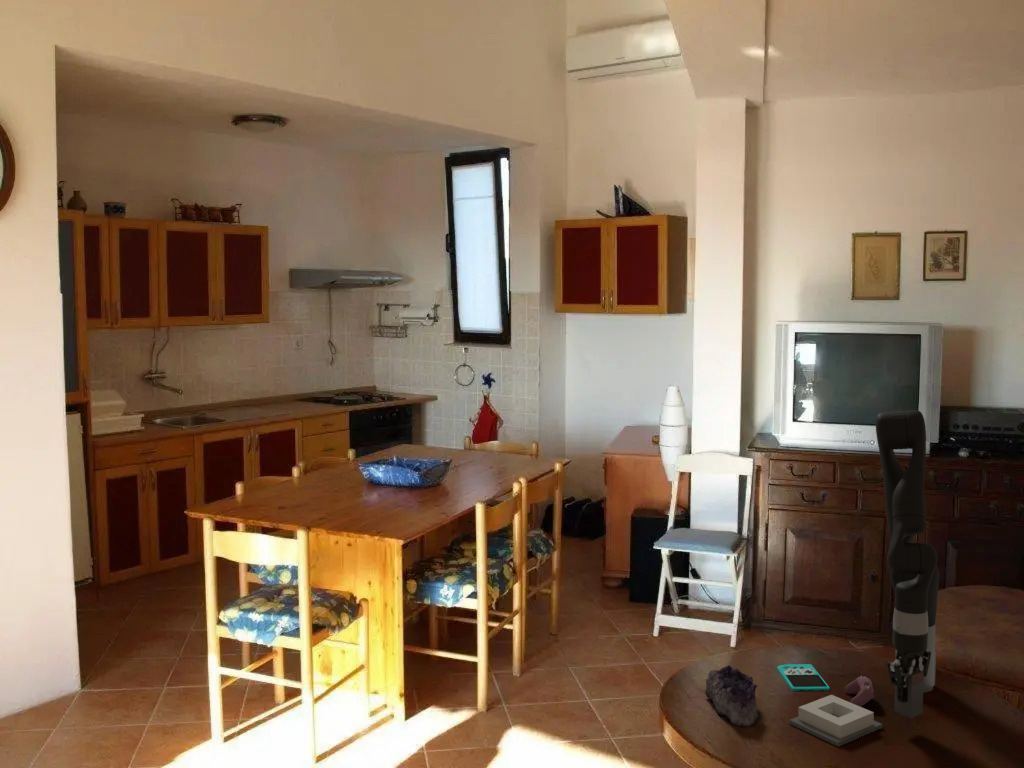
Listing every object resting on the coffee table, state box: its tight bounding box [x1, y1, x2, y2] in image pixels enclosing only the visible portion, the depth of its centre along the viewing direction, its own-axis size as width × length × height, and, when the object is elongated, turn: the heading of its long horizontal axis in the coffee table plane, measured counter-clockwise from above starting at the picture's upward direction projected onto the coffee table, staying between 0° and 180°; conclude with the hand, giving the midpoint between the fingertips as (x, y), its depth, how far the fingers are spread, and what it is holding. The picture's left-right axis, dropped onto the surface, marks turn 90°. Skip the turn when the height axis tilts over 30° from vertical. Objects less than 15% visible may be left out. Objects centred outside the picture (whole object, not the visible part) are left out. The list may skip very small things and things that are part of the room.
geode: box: [704, 664, 759, 729], centre depth 240 cm, size 20×12×10 cm, turn 6°
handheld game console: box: [776, 663, 831, 692], centre depth 259 cm, size 10×16×1 cm, turn 0°
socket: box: [788, 694, 883, 747], centre depth 231 cm, size 16×14×4 cm
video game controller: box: [844, 674, 875, 707], centre depth 244 cm, size 10×5×7 cm, turn 169°
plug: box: [893, 670, 924, 719], centre depth 227 cm, size 4×4×10 cm
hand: (908, 698), depth 227 cm, fingers closed on plug, 4 cm apart
